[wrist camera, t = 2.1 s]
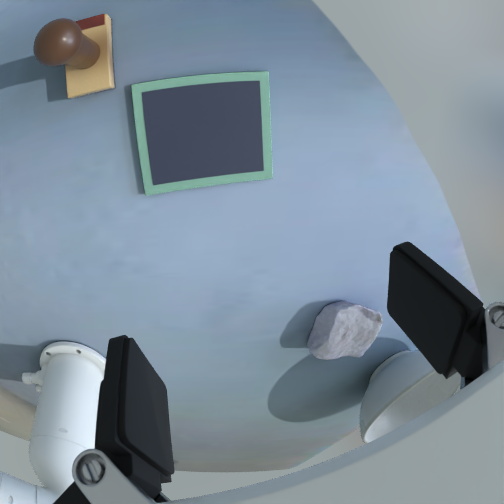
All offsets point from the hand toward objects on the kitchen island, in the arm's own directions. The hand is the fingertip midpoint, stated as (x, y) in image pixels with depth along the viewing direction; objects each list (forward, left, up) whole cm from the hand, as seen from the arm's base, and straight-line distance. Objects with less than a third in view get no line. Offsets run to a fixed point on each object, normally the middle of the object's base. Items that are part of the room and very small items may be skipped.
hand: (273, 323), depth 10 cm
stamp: (-11, +14, -25) cm, 31 cm away
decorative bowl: (+35, -47, -26) cm, 65 cm away
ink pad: (0, +4, -25) cm, 26 cm away
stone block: (+19, -27, -26) cm, 42 cm away
